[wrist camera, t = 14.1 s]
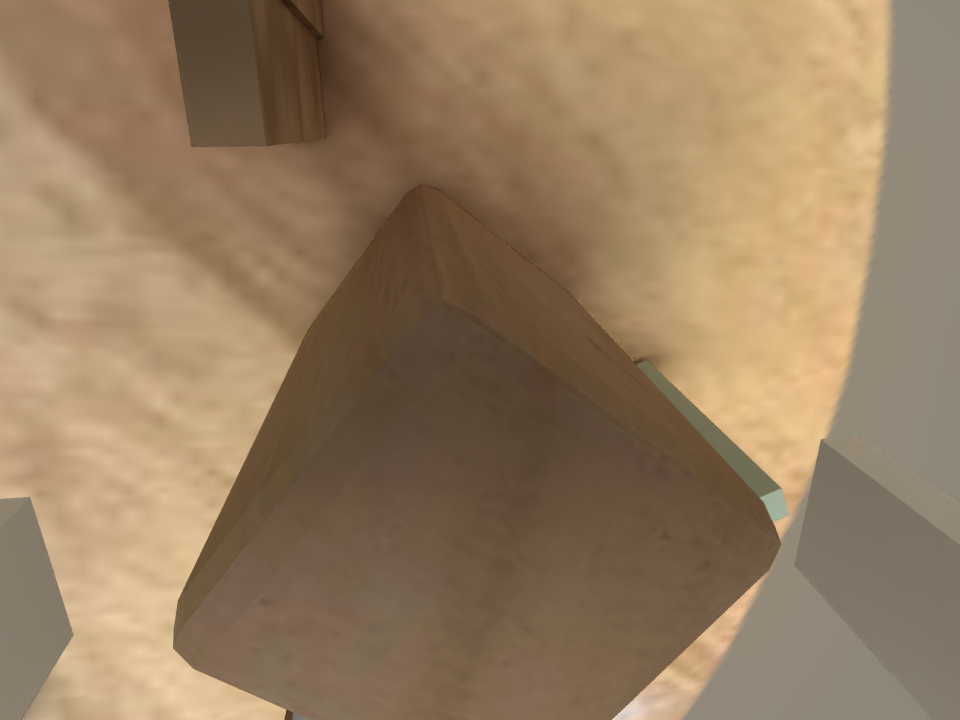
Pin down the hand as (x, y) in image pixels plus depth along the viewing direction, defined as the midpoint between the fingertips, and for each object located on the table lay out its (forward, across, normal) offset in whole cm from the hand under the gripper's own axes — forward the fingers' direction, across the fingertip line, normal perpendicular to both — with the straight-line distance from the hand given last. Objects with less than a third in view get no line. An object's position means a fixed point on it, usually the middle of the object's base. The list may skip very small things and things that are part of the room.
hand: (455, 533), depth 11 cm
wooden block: (+21, +1, -3) cm, 22 cm away
